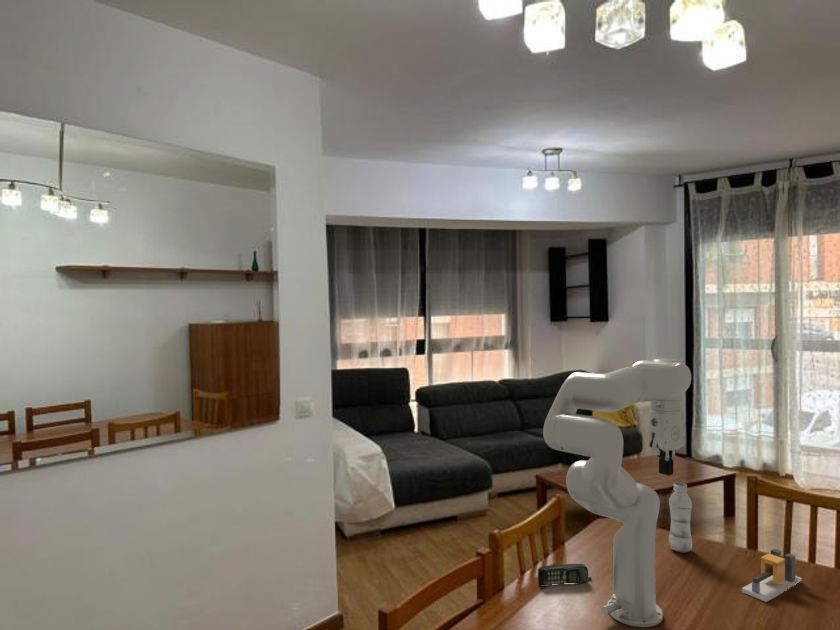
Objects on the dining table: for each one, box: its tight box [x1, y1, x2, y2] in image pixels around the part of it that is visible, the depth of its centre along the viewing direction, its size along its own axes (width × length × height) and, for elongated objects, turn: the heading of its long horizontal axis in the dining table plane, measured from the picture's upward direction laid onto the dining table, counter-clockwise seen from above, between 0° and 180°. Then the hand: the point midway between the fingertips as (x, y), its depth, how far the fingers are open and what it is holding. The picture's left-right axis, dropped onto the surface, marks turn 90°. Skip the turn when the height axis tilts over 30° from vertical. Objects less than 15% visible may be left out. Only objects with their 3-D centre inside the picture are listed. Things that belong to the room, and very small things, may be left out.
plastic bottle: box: [668, 481, 693, 553], centre depth 171 cm, size 6×7×20 cm
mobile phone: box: [537, 563, 593, 586], centre depth 153 cm, size 5×3×15 cm
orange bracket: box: [760, 553, 785, 584], centre depth 149 cm, size 4×4×6 cm
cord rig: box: [741, 548, 802, 603], centre depth 149 cm, size 18×6×8 cm, turn 122°
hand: (666, 473), depth 152 cm, fingers closed
